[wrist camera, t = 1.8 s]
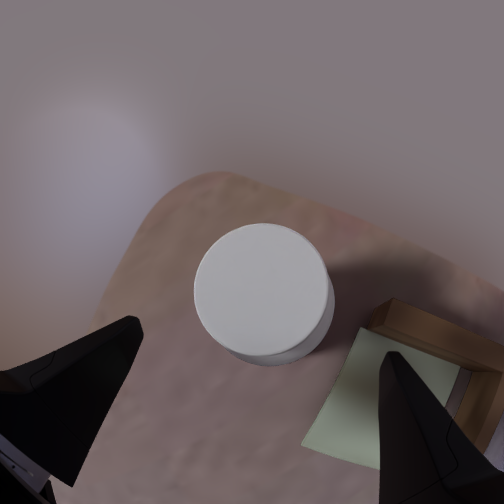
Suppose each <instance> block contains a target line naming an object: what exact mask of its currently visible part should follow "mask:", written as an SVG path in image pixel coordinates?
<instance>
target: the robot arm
mask: <svg viewBox="0 0 504 504" xmlns="http://www.w3.org/2000/svg"><path fill="white" fill-rule="evenodd" d="M143 336H144V334H143V330H142V327H141V324H140V320H139V319H138V318H137V317H135V316H130V315H128V316H126V317H124V318H122V319H120V320H118V321H115V322H113V323H111V324H109V325H107V326H105V327H103V328H101V329H99V330H97V331H95V332H93V333H91V334H89V335H86V336H84V337H82V338H80V339H78V340H76V341H74V342H72V343H70V344H68V345H66V346H64V347H62V348H60V349H58V350H56V351H53V352H51V353H49V354H47V355H45V356H42V357H40V358H38V359H36V360H33V361H30V362H28V363H25V364H22V365H20V366H17V367H14V368H12V369H9V370H5V371H0V504H56V500H55V497H54V493H53V489H52V485H51V481H50V480H49V477H50V475H53V476H54V477H56V478H57V479H59V480H60V481H62V482H64V483H65V484H67V485H68V486H70V487H73V485H74V483H75V481H76V479H77V477H78V474H79V472H80V470H81V468H82V465H83V463H84V461H85V459H86V457H87V455H88V452H89V449H90V448H91V446H92V444H93V442H94V439H95V437H96V435H97V433H98V431H99V429H100V427H101V425H102V423H103V421H104V419H105V417H106V415H107V413H108V411H109V409H110V407H111V405H112V403H113V401H114V399H115V397H116V396H117V394H118V392H119V390H120V388H121V386H122V384H123V382H124V380H125V378H126V377H127V375H128V373H129V371H130V369H131V366H132V364H133V362H134V359H135V357H136V354H137V352H138V350H139V347H140V345H141V342H142V340H143ZM378 420H379V442H380V489H379V504H504V472H502V471H500V470H498V469H497V468H495V467H494V466H493V465H492V464H491V463H490V462H489V461H488V460H487V458H486V457H485V456H484V455H483V454H482V453H481V452H480V451H479V450H478V449H477V448H476V446H475V445H474V444H473V443H472V442H471V441H470V440H469V439H468V437H467V436H466V435H465V434H464V432H463V431H462V430H461V429H460V427H459V426H458V425H457V423H456V422H455V421H454V420H453V419H452V417H451V416H450V414H449V413H448V412H447V410H446V409H445V408H444V407H443V405H442V404H441V403H440V401H439V400H438V399H437V398H436V396H435V395H434V394H433V392H432V391H431V390H430V389H429V387H428V386H427V385H426V384H425V382H424V381H423V380H422V379H421V377H420V376H419V375H418V374H417V373H416V371H415V370H414V369H413V368H412V366H411V365H410V364H409V363H408V362H407V360H406V359H405V358H404V357H403V356H402V354H401V353H400V352H398V351H388V352H387V353H386V355H385V357H384V359H383V362H382V364H381V366H380V370H379V399H378Z"/></svg>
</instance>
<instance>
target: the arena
mask: <svg viewBox="0 0 504 504" xmlns="http://www.w3.org/2000/svg"><path fill="white" fill-rule="evenodd" d="M388 351H398V352H400V353H401V354H402V356H403V357H404V358H405V359H406V360H407V362H408V363H409V364H410V365H411V366H412V368H413V369H414V370H415V371H416V373H417V374H418V375H419V376H420V377H421V379H422V380H423V381H424V382H425V384H426V385H427V386H428V387H429V389H430V390H431V391H432V392H433V394H434V395H435V396H436V398H437V399H438V400H439V401H440V403H441V404H442V405H443V407H445V405H446V403H447V400H448V398H449V396H450V393H451V391H452V388H453V386H454V383H455V381H456V378H457V375H458V372H459V370H460V367H462V368H464V369H467V370H470V371H473V373H472V376H471V379H470V381H469V384H468V387H467V389H466V392H465V395H464V397H463V399H462V402H461V404H460V407H459V409H458V411H457V413H456V416H455V418H454V421H455V422H456V423H457V425H458V426H459V427H460V429H461V430H462V431H463V432H464V434H465V435H466V436H467V437H468V439H469V440H470V441H471V442H472V443H473V444H474V445H475V446H476V448H477V449H478V450H479V451H480V452H481V453H482V454H484V452H485V450H486V448H487V446H488V444H489V442H490V440H491V438H492V436H493V434H494V432H495V430H496V427H497V425H498V423H499V420H500V418H501V416H502V413H503V411H504V346H502V345H500V344H498V343H496V342H493V341H491V340H489V339H487V338H485V337H482V336H480V335H478V334H475V333H473V332H471V331H469V330H466V329H464V328H462V327H460V326H457V325H455V324H453V323H450V322H448V321H446V320H444V319H441V318H439V317H437V316H434V315H432V314H430V313H427V312H425V311H423V310H420V309H418V308H416V307H413V306H411V305H409V304H406V303H404V302H402V301H399V300H397V299H395V298H392V299H390V300H389V301H387V302H385V303H383V304H382V305H380V306H378V307H377V308H375V309H374V312H373V314H372V317H371V320H370V322H369V325H368V327H367V330H366V329H364V328H362V327H360V329H359V331H358V333H357V336H356V338H355V341H354V343H353V345H352V347H351V350H350V352H349V354H348V356H347V359H346V361H345V363H344V365H343V367H342V369H341V371H340V373H339V375H338V378H337V380H336V382H335V384H334V386H333V388H332V390H331V391H330V393H329V395H328V397H327V399H326V401H325V403H324V405H323V407H322V408H321V410H320V412H319V414H318V416H317V417H316V419H315V421H314V423H313V424H312V426H311V428H310V430H309V431H308V433H307V435H306V436H305V438H304V440H303V441H302V443H301V445H302V446H304V447H307V448H310V449H312V450H315V451H318V452H321V453H324V454H326V455H329V456H333V457H336V458H339V459H342V460H345V461H349V462H352V463H356V464H359V465H363V466H367V467H371V468H375V469H379V470H380V442H379V420H378V399H379V370H380V366H381V364H382V362H383V359H384V357H385V355H386V353H387V352H388Z"/></svg>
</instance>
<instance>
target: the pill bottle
mask: <svg viewBox="0 0 504 504" xmlns="http://www.w3.org/2000/svg"><path fill="white" fill-rule="evenodd" d="M194 301H195V306H196V310H197V313H198V316H199V318H200V320H201V322H202V324H203V325H204V327H205V328H206V330H207V331H208V332H209V333H210V335H211V336H212V337H213V338H214V339H215V340H217V341H218V342H219V343H220V344H222V345H223V346H224V347H225V349H226V350H228V351H229V352H230V353H231V354H233V355H234V356H236V357H237V358H239V359H241V360H243V361H245V362H248V363H251V364H255V365H260V366H279V365H284V364H288V363H292V362H294V361H297V360H299V359H301V358H303V357H304V356H306V355H307V354H309V353H310V352H311V351H312V350H314V349H315V348H316V347H317V346H318V345H319V343H320V342H321V341H322V339H323V338H324V336H325V335H326V333H327V331H328V329H329V327H330V325H331V322H332V319H333V314H334V308H335V296H334V289H333V285H332V282H331V279H330V277H329V275H328V273H327V269H326V266H325V263H324V261H323V259H322V257H321V255H320V254H319V252H318V251H317V249H316V248H315V247H314V246H313V245H312V244H311V242H310V241H309V240H307V239H306V238H305V237H304V236H302V235H301V234H299V233H298V232H296V231H294V230H292V229H289V228H287V227H284V226H280V225H276V224H266V223H259V224H251V225H246V226H243V227H240V228H238V229H235V230H233V231H231V232H229V233H227V234H226V235H224V236H223V237H221V238H220V239H219V240H218V241H217V242H216V243H214V244H213V245H212V247H211V248H210V249H209V250H208V251H207V253H206V254H205V256H204V258H203V259H202V261H201V263H200V265H199V267H198V270H197V273H196V277H195V284H194Z"/></svg>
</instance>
